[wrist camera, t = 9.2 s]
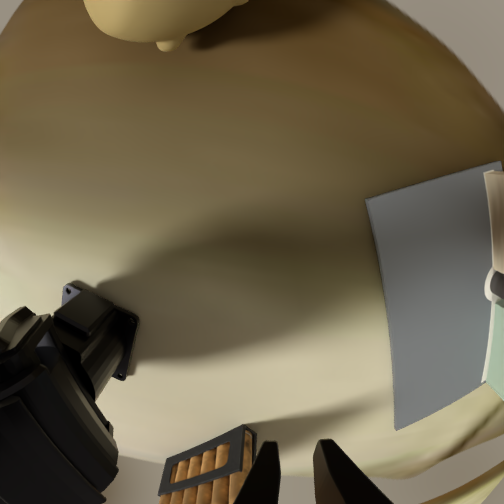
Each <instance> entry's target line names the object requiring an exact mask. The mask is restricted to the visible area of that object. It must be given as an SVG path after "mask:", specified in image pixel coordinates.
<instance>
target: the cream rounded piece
mask: <svg viewBox="0 0 504 504" xmlns="http://www.w3.org/2000/svg"><path fill="white" fill-rule="evenodd" d="M247 1H248V0H84V3H85V6H86V9H87V11H88V13H89V15H90V17H91V19H92V20H93V22H94V23H95V24H96V26H97V27H98V28H99V29H100V30H101V31H103V32H104V33H106V34H108V35H110V36H112V37H115V38H118V39H122V40H127V41H133V42H156V43H157V46H158V48H159V49H160V50H161V51H164V52H170V51H173V50H175V49H177V48H178V47H179V46H180V44H181V43H182V41H183V40H184V38H185V36H186V35H187V34H190V33H192V32H195V31H197V30H199V29H201V28H203V27H205V26H207V25H209V24H211V23H212V22H214V21H215V20H217V19H218V18H220V17H221V16H222V15H224V14H225V13H226V12H227V11H229V10H230V9H231V8H232V7H233V6H239V5H243V4H245V3H246V2H247Z"/></svg>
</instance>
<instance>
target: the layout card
mask: <svg viewBox="0 0 504 504" xmlns="http://www.w3.org/2000/svg"><path fill="white" fill-rule="evenodd" d="M492 171H502V172H503V170H502V165H501V161H495V162H491V163H488V164H484V165H480V166H477V167H473V168H470V169H466V170H462V171H459V172H455V173H452V174H448V175H445V176H441V177H438V178H434V179H431V180H427V181H424V182H421V183H417V184H414V185H410V186H407V187H403V188H400V189H397V190H393V191H390V192H387V193H383V194H380V195H377V196H373V197H370V198H367V199H365V202H366V206H367V210H368V214H369V219H370V223H371V227H372V232H373V236H374V241H375V246H376V251H377V256H378V261H379V267H380V273H381V278H382V284H383V291H384V297H385V304H386V311H387V319H388V327H389V337H390V346H391V358H392V371H393V389H394V428H395V430H396V431H397V430H399V429H402V428H404V427H406V426H408V425H410V424H413V423H415V422H417V421H419V420H421V419H423V418H425V417H427V416H429V415H431V414H433V413H435V412H437V411H439V410H441V409H442V408H444V407H446V406H448V405H450V404H451V403H453V402H455V401H457V400H458V399H460V398H462V397H463V396H465V395H467V394H468V393H470V392H472V391H473V390H475V389H476V388H478V387H479V386H481V385H482V384H484V383H486V378H487V373H488V367H489V361H490V354H491V347H492V338H493V329H494V316H495V303H496V302H498V301H499V300H501V299H502V298H500V297H498V296H497V295H495V294H493V293H492V292H491V290H490V282H491V278H492V276H493V274H494V273H495V272H496V270H494V262H493V237H492V224H491V214H490V205H489V197H488V190H487V184H486V178H485V173H489V172H492Z"/></svg>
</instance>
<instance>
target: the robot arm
mask: <svg viewBox="0 0 504 504" xmlns="http://www.w3.org/2000/svg"><path fill="white" fill-rule="evenodd" d="M68 288H69V289H70V290H71V292H70V291H69V290H68ZM130 319H132V320H134V323H133V322H131V321H130ZM138 326H139V317H138V316H137V315H135V314H134V313H131V312H129V311H127V310H125V309H123V308H120V307H118V306H116V305H114V304H113V303H112V302H110V301H108V300H106V299H104V298H102V297H100V296H98V295H96V294H94V293H91V292H89V291H87V290H83V289H81V288H79V287H77V286H75V285H73V284H71V283H68V284H66V285H65V286H64V288H63V295H62V305H61V307H60V308H58V309H57V310H56V311H55V312H54V315H53V316H52V317H51V315H50V314H44V315H39V316H36V314H35V313H33V312H32V311H31V310H29V309H28V308H27V307H26V306H24V307H20V308H18V309H17V310H15V311H14V312H12V313H11V314H9V315H8V316H7V317H5V318H4V319H3V320H2V321H1V322H0V504H102V503H104V502H106V497H104V496H103V495H102V494H101V492H102V491H104V490H105V489H106V488H107V487H108V486H109V485H110V483H111V482H112V481H113V480H114V478H115V477H116V475H117V473H118V471H119V469H118V467H117V466H116V465H117V459H118V448H117V445H116V441H115V440H114V439H113V426H112V425H111V423H110V422H109V421H107V420H106V418H105V417H104V415H103V414H102V412H101V411H100V409H99V408H98V406H97V405H96V403H95V402H96V400H97V398H98V397H99V395H100V394H101V392H102V390H103V389H104V387H105V386H106V384H107V383H108V381H109V379H110V378H111V376H112V377H114V378H116V379H118V380H121V381H124V380H125V379H126V377H127V375H128V370H129V365H130V360H131V356H132V351H133V347H134V342H135V338H136V334H137V330H138ZM120 374H121V375H120ZM313 467H314V485H315V498H316V504H394V503H393V502H392V501H390V500H389V499H388V498H387V497H386V496H385V495H384V494H383V493H382V491H381V490H380V489H378V487H377V486H376V485H375V484H374V483H373V482H372V481H371V480H370V479H369V478H368V477H367V476H366V475H365V474H364V473H363V472H362V471H361V470H360V469H359V468H358V467H357V465H356V464H355V463H354V462H353V461H352V460H351V459H350V458H349V457H348V456H347V455H346V454H345V453H344V451H343V450H342V449H341V448H340V447H339V446H338V445H337V444H336V443H335V441H334V440H332V439H320V440H319V441H318V442H317V445H316V448H315V451H314V455H313ZM280 479H281V468H280V459H279V450H278V443H277V441H264V442H263V444H262V446H261V448H260V450H259V452H258V454H257V456H256V459H255V461H254V463H253V465H252V467H251V469H250V471H249V473H248V475H247V477H246V479H245V481H244V483H243V485H242V487H241V489H240V491H239V493H238V495H237V497H236V498H235V500H234V502H233V504H278V497H279V488H280Z"/></svg>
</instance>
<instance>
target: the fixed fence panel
mask: <svg viewBox="0 0 504 504" xmlns="http://www.w3.org/2000/svg"><path fill="white" fill-rule="evenodd" d="M485 178H486V184H487V190H488V197H489V205H490V214H491V224H492V237H493V262H494V270H496V272H495V273H494V274H493V276H492V278H491V282H490V290H491V292H492V293H493V294H495V295H497V296H498V297H500V298H502V299H504V172H502V171H492V172H489V173H485Z"/></svg>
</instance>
